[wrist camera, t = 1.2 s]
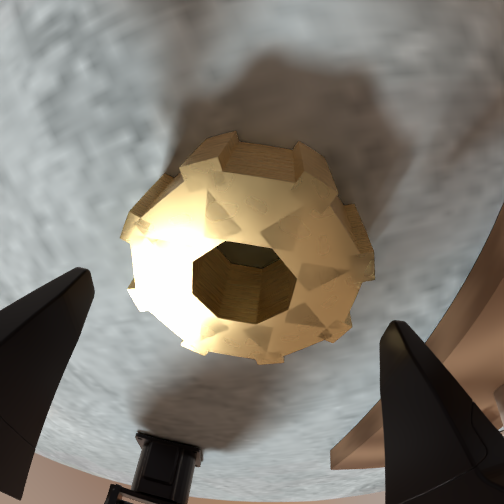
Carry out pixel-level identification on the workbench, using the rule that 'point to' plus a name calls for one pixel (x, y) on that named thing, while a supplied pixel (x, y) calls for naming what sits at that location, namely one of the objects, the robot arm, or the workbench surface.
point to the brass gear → (253, 233)
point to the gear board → (453, 354)
